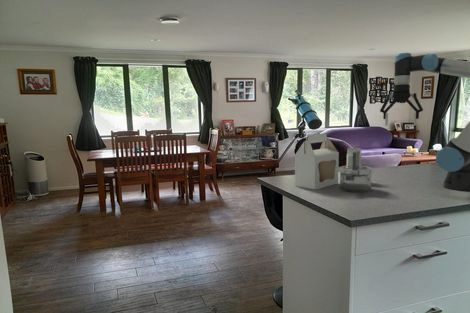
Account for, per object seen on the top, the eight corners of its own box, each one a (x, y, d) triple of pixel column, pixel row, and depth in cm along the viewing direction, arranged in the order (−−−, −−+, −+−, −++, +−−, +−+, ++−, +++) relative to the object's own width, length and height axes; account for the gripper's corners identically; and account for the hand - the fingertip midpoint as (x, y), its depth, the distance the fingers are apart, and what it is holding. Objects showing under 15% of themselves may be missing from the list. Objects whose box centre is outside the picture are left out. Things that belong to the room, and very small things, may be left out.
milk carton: (361, 182, 191) (361, 148, 189) (347, 182, 193) (348, 148, 190) (359, 180, 198) (359, 147, 196) (346, 179, 200) (346, 147, 197)
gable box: (318, 180, 201) (319, 132, 197) (338, 183, 191) (339, 133, 188) (294, 186, 187) (294, 134, 183) (314, 190, 177) (314, 135, 173)
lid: (368, 171, 177) (368, 151, 175) (363, 174, 168) (364, 153, 167) (348, 169, 182) (349, 150, 181) (343, 172, 174) (343, 152, 173)
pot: (375, 187, 179) (375, 166, 177) (365, 196, 161) (365, 173, 160) (344, 184, 187) (344, 164, 186) (331, 192, 170) (331, 170, 168)
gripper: (430, 83, 174) (428, 125, 176) (377, 86, 187) (376, 125, 190) (428, 82, 167) (426, 125, 170) (374, 85, 181) (373, 125, 184)
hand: (400, 125), depth 180 cm, fingers open, 13 cm apart
